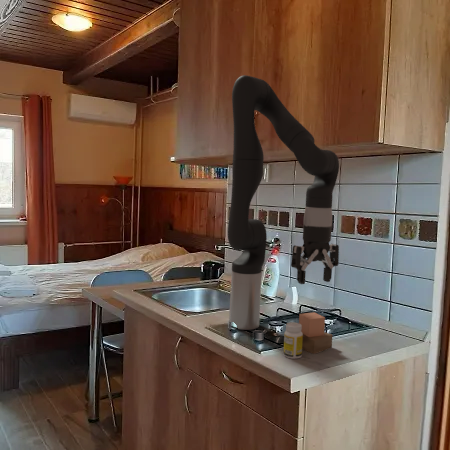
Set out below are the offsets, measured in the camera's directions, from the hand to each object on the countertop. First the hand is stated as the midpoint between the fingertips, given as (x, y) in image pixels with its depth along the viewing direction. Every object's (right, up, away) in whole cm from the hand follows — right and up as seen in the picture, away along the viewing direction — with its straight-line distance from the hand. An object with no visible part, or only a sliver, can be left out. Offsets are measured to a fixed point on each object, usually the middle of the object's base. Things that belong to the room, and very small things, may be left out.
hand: (314, 282), depth 128 cm
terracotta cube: (-1, -14, +2) cm, 14 cm away
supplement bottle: (-7, -19, -6) cm, 21 cm away
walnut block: (-1, -18, +2) cm, 18 cm away
